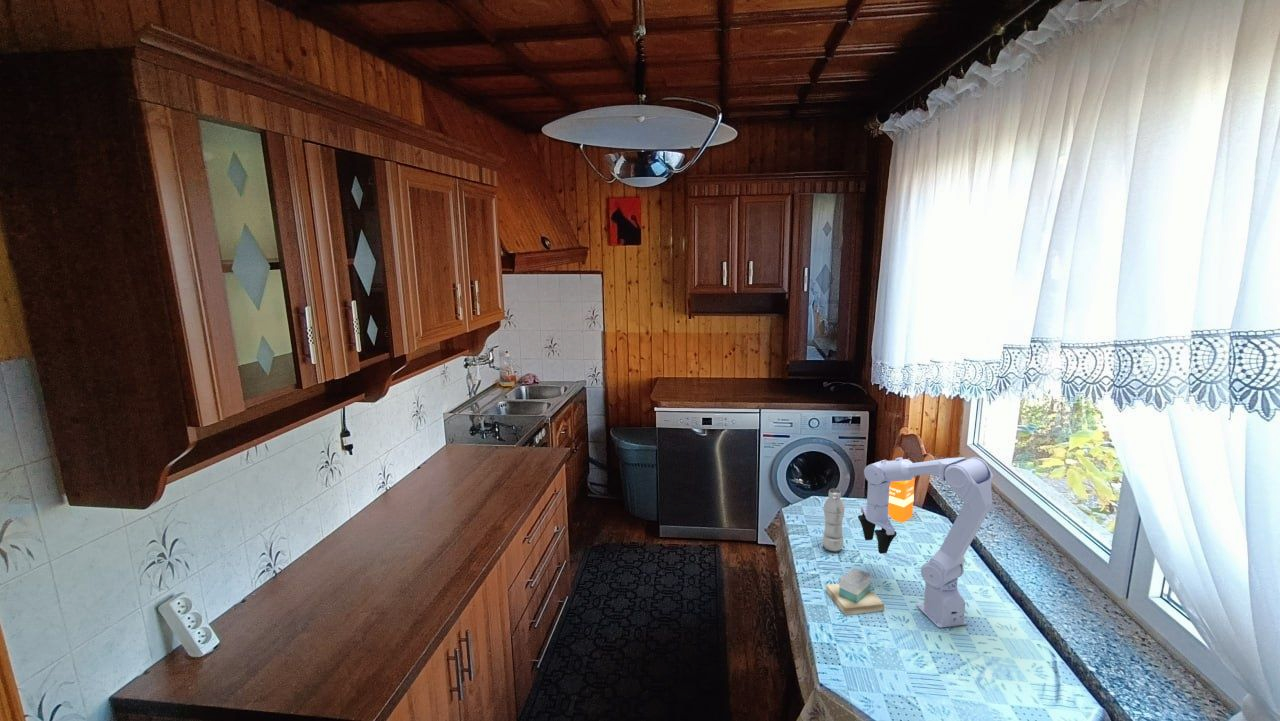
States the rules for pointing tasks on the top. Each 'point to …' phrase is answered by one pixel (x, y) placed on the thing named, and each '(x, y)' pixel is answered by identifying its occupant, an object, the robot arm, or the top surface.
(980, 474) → the robot arm
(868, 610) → the stand
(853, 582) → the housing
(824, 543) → the plastic bottle
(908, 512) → the orange juice
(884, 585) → the top surface
